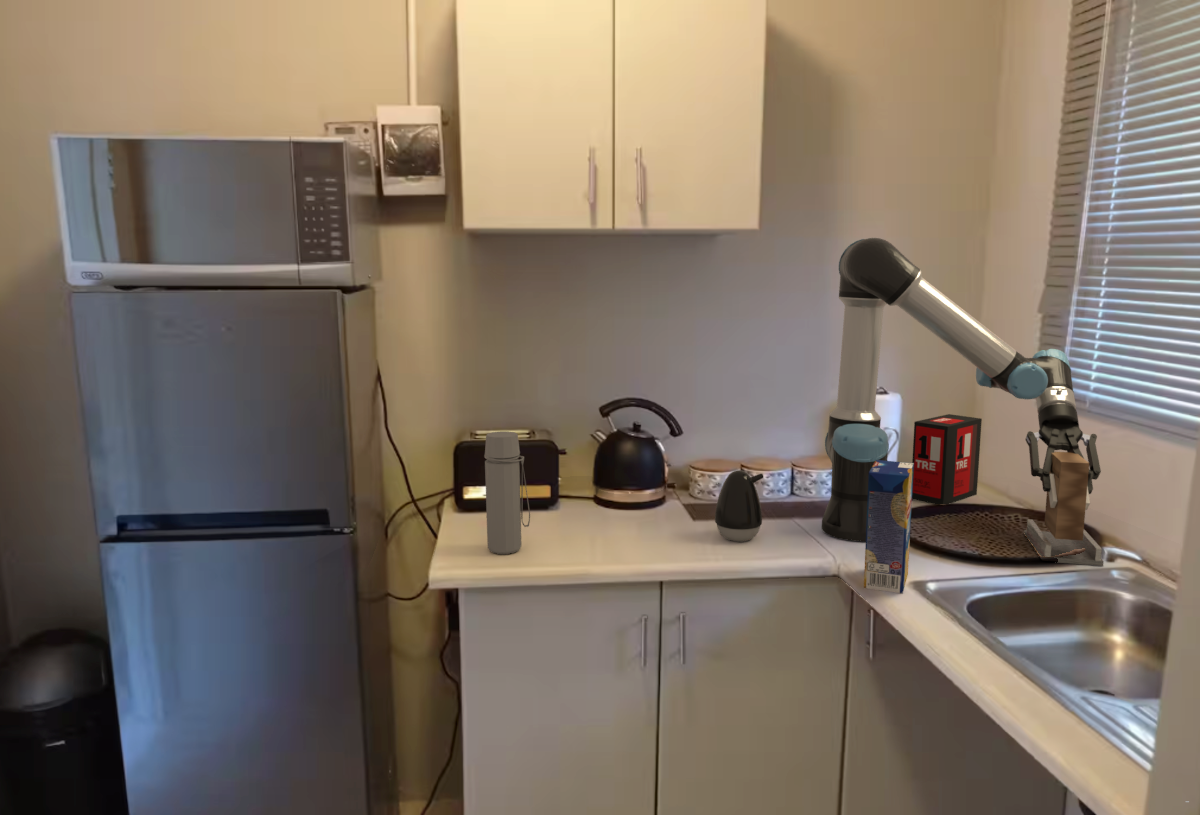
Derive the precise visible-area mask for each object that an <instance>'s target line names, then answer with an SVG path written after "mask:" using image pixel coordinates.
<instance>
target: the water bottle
mask: <svg viewBox="0 0 1200 815" xmlns="http://www.w3.org/2000/svg"><path fill="white" fill-rule="evenodd" d="M519 443H520V442H519V435H518V433H517V432H516V431H507V430H506V431H493V432H488V433H487V434H486V435H485V444H484V445H485V448H484V449H485V450H484V455H483V457H484V458H485V459H486V460H484V473H485V474H484V475H485V476H484V478H485V501H486V502H485V504H486V505H485V506H486V507H485V508H486V510H485V511H486V540H487V542H486V543H487V549H488V550H489V551H490V552H491V553H492V552H493V553H492V554H495V553H497V554H496V555H511V554H510V553H512V554H514V553H516V552H519V551H520V550H521V547H522V526H523V527H524V528H526V527H527V528H528V527H529V526H530V523H531V521H530V520H531V511H530V510H531V509H530V504H529V498H528V490H527V481H526V477H525V474H524V473H525V469H524V462H525V456H523V455H520V454H521V451H520V444H519ZM519 458H520V459H519ZM520 464H521V470H520ZM520 471H521V473H520ZM523 478H524V479H523ZM523 482H524V483H523ZM523 484H524V485H523ZM523 486H525V494H526V501H527V508H528V522H527V524H525V523H524V521H523V518H524V517H523V513H524V512H523V510H524V509H523V502H524V501H523V496H524V495H523Z"/></svg>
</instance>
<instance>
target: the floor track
mask: <svg viewBox="0 0 1200 815" xmlns="http://www.w3.org/2000/svg"><path fill="white" fill-rule="evenodd" d="M1026 521H1027V522H1026V524H1027V525H1026V529H1023V534H1024V533H1025V535H1026V536H1027V538H1028V539H1029V540H1030V542H1031V543H1032V544H1033V546H1034V547H1035V548H1036V550H1037V551H1038V553H1039V554H1040V555H1041V556H1042V557H1043V556H1045V557H1051V556H1055V555H1059V554H1062V553H1066V552H1070V551H1072V550H1074V549H1082V548H1085V549H1086V550H1085V551H1084V552H1082V553H1080V554H1076V555H1068V556H1063V557H1054V558H1057V559H1058V562H1057V563H1058V564H1059V563H1060V564H1068V565H1069V564H1071V565H1072V564H1073V565H1086V566H1098V567H1104V564H1105V561H1104V560H1103V559H1102V552H1103V548H1102V547H1101V546H1100V545H1099V544H1098V543H1097V541H1096V540H1094V538H1093V537H1092V536H1091V535H1090V534H1089V533H1088V532H1087V530H1085V529H1084V531H1083V541H1082V540H1068V539H1055V538H1054V536H1053V535H1052V534H1051V532H1050V531H1042V530H1041V529H1040V527H1039V525H1037V523H1036V522H1035V520H1034V519H1027V520H1026ZM1025 535H1024V536H1025ZM1027 538H1026V539H1027Z"/></svg>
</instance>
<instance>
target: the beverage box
mask: <svg viewBox="0 0 1200 815" xmlns="http://www.w3.org/2000/svg"><path fill="white" fill-rule="evenodd" d="M913 469H914V463H912V462H905V461H895V460H893V461H891V460H887V461H882V460H876V461H875V463H874V464H873V466H872V468H871V470H870V471H869V480H868V503H867V525H866V542H865V551H864V572H863V573H864V574H863V589H868V590H874V591H883V592H889V593H896V594H903V593H904V590H905V586H906V584H907V579H908V576H909V561H910V560H909V559H910V544H911V543H910V540H911V524H912V523H911V522H912V503H913V499H912V488H913Z"/></svg>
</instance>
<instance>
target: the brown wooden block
mask: <svg viewBox="0 0 1200 815" xmlns="http://www.w3.org/2000/svg"><path fill="white" fill-rule="evenodd" d="M1051 454H1052V464H1051V468H1050V472H1049V475H1050V474H1054V479H1055V486H1056V494H1057V504H1056V506H1055V508H1050V500H1049V492H1046V501H1045V510H1044V512H1045V513H1044V514H1045V515H1044V526H1045V527H1046V528H1047V530H1048V532H1051V534H1052V535H1053V536H1054V538H1055V539H1068V540H1082V541H1083V531H1084V530H1085V519H1086V517H1085V516H1086V510H1085V508H1086V496H1087V484H1088V472H1089V469H1090V467H1089V462H1088V460H1087V459H1085V458H1084V459H1083V458H1082V457H1081V456H1080V455H1079V454H1075V453H1073V452H1067V451H1054V453H1051Z"/></svg>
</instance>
